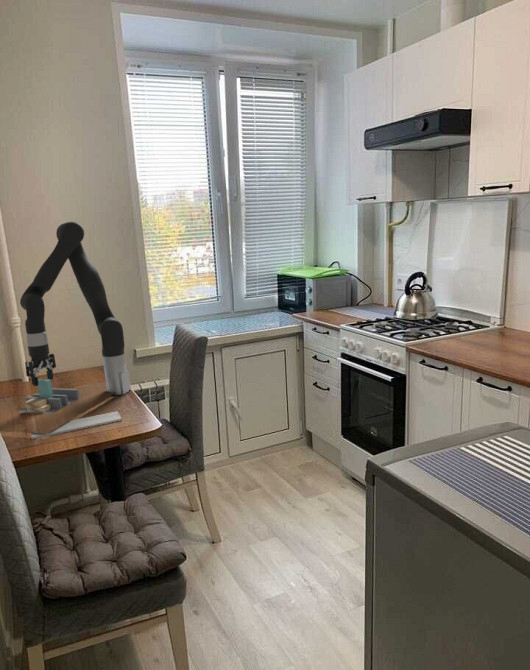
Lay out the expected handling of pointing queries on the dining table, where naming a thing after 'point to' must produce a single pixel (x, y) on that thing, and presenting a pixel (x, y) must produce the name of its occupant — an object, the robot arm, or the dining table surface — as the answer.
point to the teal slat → (45, 388)
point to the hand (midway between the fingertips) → (43, 382)
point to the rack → (56, 399)
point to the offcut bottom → (42, 409)
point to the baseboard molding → (82, 424)
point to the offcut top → (35, 403)
